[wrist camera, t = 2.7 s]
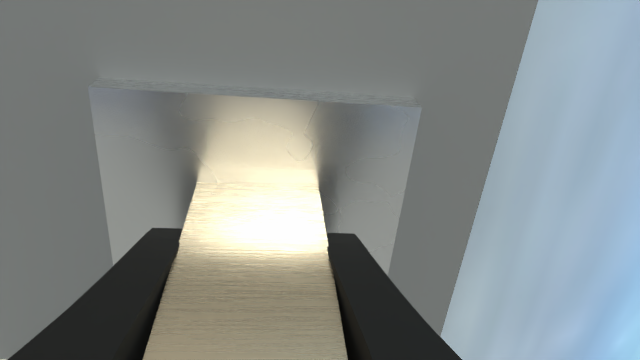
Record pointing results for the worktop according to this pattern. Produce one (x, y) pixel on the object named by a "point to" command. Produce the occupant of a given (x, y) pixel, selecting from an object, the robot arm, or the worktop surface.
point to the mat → (246, 71)
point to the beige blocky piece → (250, 205)
